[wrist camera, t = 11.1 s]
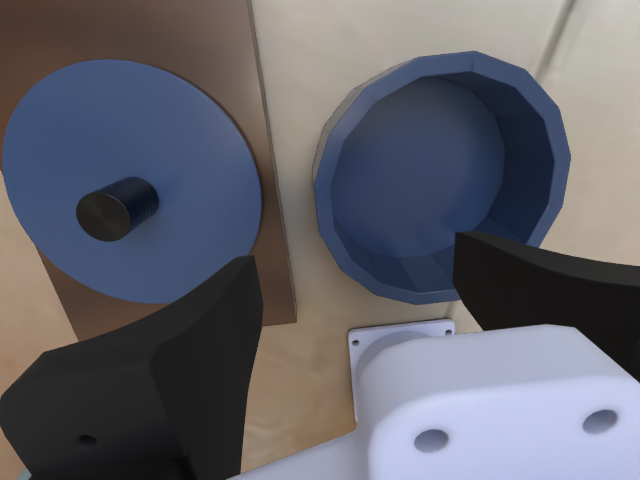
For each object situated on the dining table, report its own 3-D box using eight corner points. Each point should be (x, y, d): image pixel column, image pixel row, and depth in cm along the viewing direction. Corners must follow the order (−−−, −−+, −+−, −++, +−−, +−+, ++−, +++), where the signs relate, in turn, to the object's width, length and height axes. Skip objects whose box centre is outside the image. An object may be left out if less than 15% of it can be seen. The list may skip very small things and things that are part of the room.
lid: (279, 282, 22) (273, 324, 18) (72, 305, 22) (19, 352, 18) (239, 47, 17) (219, 30, 13) (-29, 76, 17) (-135, 69, 13)
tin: (502, 254, 24) (548, 291, 20) (323, 274, 24) (328, 315, 20) (525, 52, 19) (592, 37, 15) (301, 76, 19) (300, 69, 15)
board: (297, 310, 25) (296, 322, 24) (93, 332, 25) (80, 346, 24) (247, -21, 17) (242, -31, 16) (-46, 12, 17) (-76, 4, 16)
